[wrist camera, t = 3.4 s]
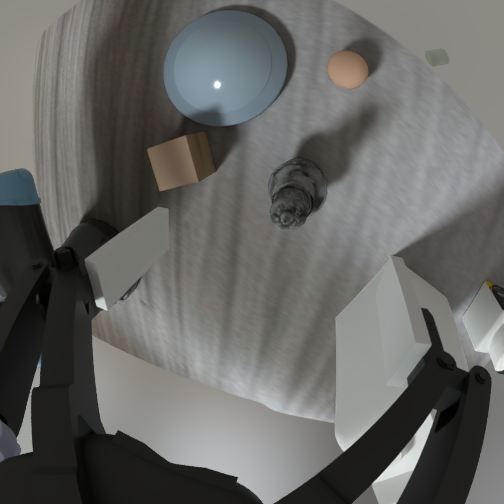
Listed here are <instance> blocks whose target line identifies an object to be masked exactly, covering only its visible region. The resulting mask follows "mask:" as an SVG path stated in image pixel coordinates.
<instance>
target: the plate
mask: <svg viewBox="0 0 504 504" xmlns="http://www.w3.org/2000/svg"><path fill="white" fill-rule="evenodd" d="M287 73H288V57H287V52H286V48H285V46H284V44H283V41H282V40H281V38H280V37H279V35H278V34H277V32H276V31H275V30H274V29H273V28H272V26H270V25H269V24H268V23H267V22H266V21H264V20H263V19H261V18H259V17H258V16H255V15H253V14H250V13H247V12H243V11H237V10H224V11H217V12H212V13H209V14H206V15H204V16H202V17H199V18H197V19H196V20H194V21H193V22H191V23H190V24H188V25H187V26H186V27H185V28H183V30H182V31H181V32H180V33H179V34H178V35H177V36H176V38H175V39H174V40H173V42H172V44H171V45H170V47H169V49H168V52H167V54H166V58H165V62H164V69H163V77H164V84H165V88H166V91H167V94H168V96H169V98H170V100H171V101H172V103H173V104H174V106H175V107H176V108H177V109H178V110H179V111H180V112H181V113H182V114H184V115H185V116H186V117H188V118H190V119H191V120H193V121H196V122H198V123H201V124H205V125H210V126H229V125H235V124H239V123H243V122H246V121H248V120H251V119H253V118H255V117H257V116H258V115H260V114H261V113H263V112H264V111H265V110H266V109H267V108H269V107H270V106H271V105H272V103H273V102H274V101H275V100H276V99H277V97H278V96H279V94H280V93H281V91H282V89H283V87H284V84H285V81H286V78H287Z"/></svg>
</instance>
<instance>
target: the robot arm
mask: <svg viewBox="0 0 504 504" xmlns="http://www.w3.org/2000/svg"><path fill="white" fill-rule="evenodd" d="M40 203H41V199H40V198H39V197H38V194H37V190H36V187H35V183H34V179H33V176H32V174H31V173H30V172H29V171H28V170H26V169H22V168H21V169H15V170H11V171H7V172H3V173H0V504H263V503H262V501H261V500H260V499H259V498H258V497H257V496H256V495H255V494H254V493H253V492H251V491H250V490H249V489H247V488H246V487H245V486H243V485H240V484H239V483H237V478H238V477H234V476H231V475H227V474H224V473H220V472H217V471H214V470H210V469H207V468H202V467H194V466H186V465H179V464H173V463H170V462H168V461H167V460H165V459H164V458H163V457H161V456H160V455H159V454H157V453H156V452H155V451H153V450H152V449H151V448H149V447H148V446H147V445H146V444H144V443H143V442H141V441H138V440H136V439H134V438H132V437H130V436H129V435H126V434H125V433H123V432H121V431H119V430H118V431H117V433H116V434H115V435H111V434H106V432H105V430H104V427H103V425H102V423H101V419H100V414H99V408H98V402H97V394H96V385H95V375H94V365H93V349H92V323H91V320H92V319H93V318H94V317H95V316H96V315H97V314H98V313H99V312H100V311H102V310H107V311H108V310H109V309H110V308H111V307H112V306H113V305H114V304H116V303H119V302H122V301H124V300H125V299H126V298H128V297H129V296H130V294H131V293H132V292H133V291H134V290H135V289H136V287H137V284H138V279H139V278H140V277H141V276H142V275H143V274H144V273H145V272H146V271H147V270H148V269H149V268H150V267H151V266H152V265H153V264H154V263H155V262H156V261H157V260H158V259H159V258H160V257H161V256H162V255H163V254H164V253H166V252H167V251H168V250H169V249H170V238H169V210H168V209H167V208H162V207H157V208H155V209H154V210H152V211H151V212H149V213H148V214H146V215H145V216H144V217H142V218H141V219H139V220H138V221H136V222H135V223H133V224H132V225H130V226H129V227H128V228H126V229H125V230H123V231H122V232H121V233H118V232H117V231H116V230H115V229H113V228H112V227H111V226H109V225H108V224H106V223H104V222H102V221H99V220H87V221H85V222H83V223H82V224H80V225H79V226H77V227H76V228H75V229H74V230H73V231H72V232H71V234H70V236H69V237H68V238H67V239H66V241H65V242H64V243H63V245H62V246H61V247H60V248H57V249H56V250H55V251H54V249H53V246H52V244H51V240H50V237H49V234H48V231H47V228H46V224H45V221H44V217H43V214H42V210H41V206H40ZM375 298H376V305H377V311H378V318H379V325H380V333H381V341H382V350H383V360H384V372H385V385H387V386H396V387H401V386H402V384H403V383H404V382H405V381H406V379H407V383H408V387H407V388H406V389H405V390H404V392H403V393H402V394H401V395H400V396H399V397H398V399H397V400H396V401H395V402H394V403H393V404H392V405H391V406H390V408H389V409H388V410H387V411H386V412H385V413H384V414H383V415H382V416H381V417H380V418H379V419H378V420H377V421H376V422H375V423H374V424H373V425H372V426H371V427H370V428H369V429H368V430H367V431H366V432H365V433H364V434H363V435H362V436H361V437H360V438H359V439H358V440H357V441H356V442H355V443H353V444H352V445H351V446H350V447H349V448H348V449H347V450H346V451H345V452H343V453H342V454H341V455H340V456H339V457H338V458H336V459H335V460H334V461H333V462H332V463H330V464H329V465H328V466H327V467H325V468H324V469H323V470H321V471H320V472H319V473H318V474H316V475H315V476H314V477H312V478H311V479H310V480H308V481H307V482H306V483H304V484H303V485H301V486H300V487H298V488H297V489H296V490H294V491H293V492H291V493H290V494H288V495H287V496H285V497H283V498H282V499H280V500H279V501H277V502H276V503H274V504H352V503H353V502H354V501H355V500H356V499H357V498H358V497H359V496H360V495H361V494H362V493H363V492H364V491H365V490H366V489H367V488H368V487H369V486H370V485H371V484H372V483H373V482H374V481H375V480H376V479H377V478H378V477H379V476H380V475H381V474H382V473H383V472H384V471H385V470H386V469H387V468H388V466H389V465H390V464H391V463H392V462H393V461H394V460H395V458H396V457H397V456H398V455H399V454H400V453H401V451H402V450H403V449H404V448H405V446H406V445H407V444H408V443H409V441H410V440H411V439H412V438H413V436H414V435H415V434H416V432H417V431H418V430H419V428H420V427H421V426H422V424H423V423H424V421H425V420H426V418H427V417H428V416H429V414H430V413H431V411H432V410H433V409H435V410H437V412H436V415H435V418H434V421H433V424H432V427H431V429H430V432H429V435H428V438H427V440H426V443H425V445H424V448H423V450H422V452H421V455H420V457H419V459H418V462H417V464H416V466H415V468H414V470H413V473H412V475H411V477H410V479H409V481H408V483H407V485H406V487H405V489H404V490H403V492H402V494H401V496H400V498H399V500H398V501H397V503H396V504H465V502H466V499H467V496H468V494H469V491H470V488H471V485H472V482H473V478H474V475H475V472H476V468H477V465H478V461H479V457H480V453H481V449H482V445H483V440H484V435H485V430H486V424H487V417H488V410H489V402H490V394H491V383H492V382H491V377H490V374H489V373H488V371H487V370H486V369H485V368H483V367H481V366H474V367H473V368H472V369H471V370H470V371H469V372H467V371H465V370H462V369H460V368H458V367H457V364H456V361H455V359H454V358H453V357H452V356H451V355H450V354H449V353H447V352H446V351H444V349H443V345H442V342H441V339H440V336H439V332H437V331H438V329H437V326H436V325H435V324H436V323H435V320H434V317H433V315H432V314H431V313H430V312H429V310H428V309H426V308H421V307H420V304H419V301H418V298H417V296H416V293H415V290H414V287H413V284H412V282H411V279H410V276H409V274H408V271H407V268H406V266H405V263H404V261H403V258H401V257H397V256H392V255H390V257H389V260H388V263H387V265H386V268H385V271H384V273H383V276H382V278H381V281H380V283H379V286H378V288H377V291H376V293H375ZM37 367H38V368H41V371H40V386H39V387H34V388H33V390H32V395H31V423H32V444H33V452H30V453H26V454H22V455H20V453H21V448H20V445H19V444H18V443H17V440H16V438H17V436H18V434H19V431H20V428H21V425H22V422H23V418H24V414H25V410H26V405H27V401H28V397H29V393H30V389H31V386H32V382H33V379H34V375H35V372H36V369H37Z"/></svg>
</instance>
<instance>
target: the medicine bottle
mask: <svg viewBox="0 0 504 504" xmlns="http://www.w3.org/2000/svg"><path fill="white" fill-rule="evenodd" d="M462 320H463V322H464V324H465V327H466V329H467V331H468V334H469V336H470V339H471V341H472V344H473V346H474V349H475V351H479V352H485V353H489V354H490V356H491V359H492V362H493V364H494V367H495V370H496V372H497V373H499V374H504V288H503V287H501V286H498V285H496V284H493V283H490V282H488V281H485V282H484V283H483V285H482V287H481V288H480V290H479V292H478V293H477V295H476V297H475V298H474V300H473V302H472V303H471V305H470V306H469V308H468V309H467V311H466V312H465V314H464V315H463V317H462Z"/></svg>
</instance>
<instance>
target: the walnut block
mask: <svg viewBox="0 0 504 504" xmlns="http://www.w3.org/2000/svg"><path fill="white" fill-rule="evenodd" d="M147 151H148V155H149V158H150V161H151V165H152V168H153V171H154V174H155V178H156V181H157V184H158V187H159V190H160V191H164V190H167V189H171V188H175V187H179V186H184V185H188V184H192V183H196V182H199V181H201V180H203V179H204V178H206V177H208V176H209V175H211V174H213V173H214V172H216V168H215V165H214V161H213V157H212V154H211V150H210V146H209V143H208V139H207V135H206V132H205V131H203V132H199V133H194V134H190V135H185V136H182V137H179V138H176V139H173V140H170V141H168V142H165V143H162V144H159V145H156V146H154V147H151V148H148V149H147Z"/></svg>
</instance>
